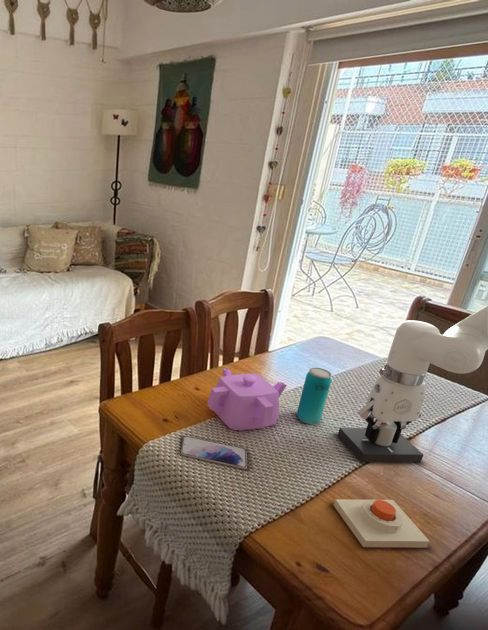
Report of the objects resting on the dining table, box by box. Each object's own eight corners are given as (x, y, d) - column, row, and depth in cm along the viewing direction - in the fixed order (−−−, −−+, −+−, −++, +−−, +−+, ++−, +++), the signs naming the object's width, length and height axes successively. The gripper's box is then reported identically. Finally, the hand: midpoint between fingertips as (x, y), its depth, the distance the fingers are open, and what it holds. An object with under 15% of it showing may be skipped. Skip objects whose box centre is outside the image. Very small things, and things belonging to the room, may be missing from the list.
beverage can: (323, 427, 116) (337, 378, 111) (301, 426, 116) (314, 377, 111) (312, 414, 122) (325, 367, 116) (292, 414, 122) (303, 366, 116)
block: (389, 507, 91) (395, 493, 90) (426, 549, 82) (433, 534, 81) (332, 507, 91) (337, 492, 90) (362, 549, 82) (368, 533, 80)
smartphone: (247, 468, 100) (180, 453, 105) (246, 471, 101) (180, 456, 105) (246, 448, 106) (183, 435, 111) (245, 451, 107) (182, 438, 111)
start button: (385, 506, 87) (387, 499, 86) (397, 521, 84) (400, 514, 83) (367, 506, 87) (369, 499, 86) (379, 521, 84) (381, 514, 83)
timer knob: (383, 434, 109) (389, 416, 107) (395, 446, 105) (401, 428, 103) (365, 434, 109) (371, 416, 107) (376, 446, 105) (383, 427, 103)
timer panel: (390, 437, 113) (394, 427, 111) (419, 464, 103) (424, 454, 102) (336, 437, 113) (339, 427, 111) (360, 464, 103) (364, 453, 102)
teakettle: (202, 422, 118) (208, 382, 113) (218, 393, 131) (225, 356, 126) (270, 444, 109) (280, 403, 105) (280, 411, 123) (289, 373, 118)
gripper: (377, 382, 96) (355, 449, 103) (453, 383, 96) (426, 449, 103) (356, 365, 103) (337, 429, 110) (427, 366, 103) (403, 430, 110)
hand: (380, 438), depth 107 cm, fingers closed on timer knob, 4 cm apart
